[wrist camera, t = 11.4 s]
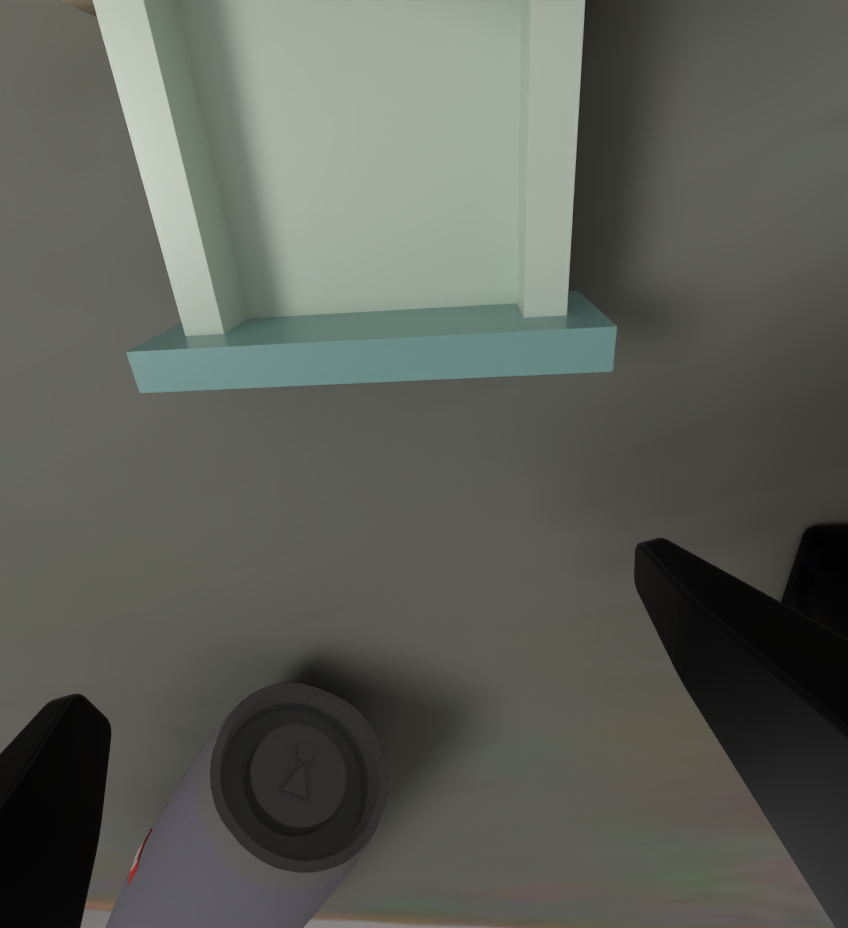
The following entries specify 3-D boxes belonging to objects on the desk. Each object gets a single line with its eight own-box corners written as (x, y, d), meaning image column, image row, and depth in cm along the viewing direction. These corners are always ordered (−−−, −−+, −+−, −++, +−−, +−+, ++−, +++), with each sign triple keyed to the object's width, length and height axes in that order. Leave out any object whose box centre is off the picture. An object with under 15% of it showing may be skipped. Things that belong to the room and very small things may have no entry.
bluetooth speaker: (247, 633, 28) (148, 847, 19) (407, 698, 29) (385, 923, 20) (140, 836, 37) (43, 1038, 29) (264, 876, 39) (208, 1078, 30)
